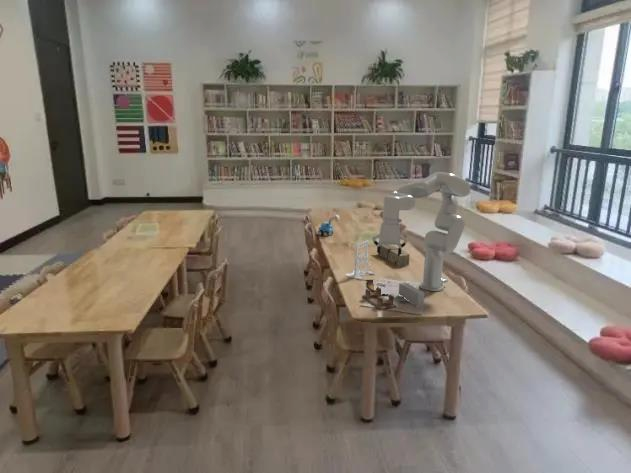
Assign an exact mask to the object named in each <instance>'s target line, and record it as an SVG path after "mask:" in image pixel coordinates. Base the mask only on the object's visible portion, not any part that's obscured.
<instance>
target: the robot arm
mask: <svg viewBox="0 0 631 473" xmlns="http://www.w3.org/2000/svg"><path fill="white" fill-rule="evenodd" d="M438 190H440V193H441V197H442V198H441V199H442V202H441V206H440V208H439V210H438V212H437V214H436V217H435V220H434V227H435V228H437V229H438V230H430V231H428V232H426V234H425V235H424V239H423V240H424V248H425V249H424V253H425V254H424V264H423V265H424V266H423V276H422V278H423V279H422V282H420V283H419V288H421V289H422V288H423V290H424V289H425V291H429V292H440V291H443V290H444V285H443V284H447V283H449V280H448V278H445V279H443V278H442V276H443V266H444V265H443V264H444V253H447V254H450V253H452V252H454V251H455V249H456V248H457V246H458V244H459V241H460V238H461V236H462V235H463V233H464V232H463V231H464V230H465V224H466V223H465V219H464V218H463V217H462V216H461V215H458V214H457V211H458V208H459V201H458V199H457V198H466V197H468V195H469V194H470V192H471V185H470V183H469V182H468V181H467V180H465V179H463V178H462V177H460V176H458V175H456V174H454V173H450V172H443V171H436V172H435V171H434V172H433V173H432V174H429V175H428V176H427V177H425V178H423V179H421V180H420V181H417V182H413V183H411V184H407V185H404V186H401V187H398V188H396V189H395V190H393V191H392V192H390V193H389V194H388V195H385V196H384V197H383V211H382V222H381V223H380V229H379V234H377V235H374V236H372V237H371V240H372V242H373V244H374V245H375V246H376V254H377V255H378V256H380V247H381V246H380V245H381V244H391V245H393V246H395V245H396V246H397V248H398V256H400V254H401V250H402V248H404V247H405V246H406V245H407V243H408V241H409V240H408V239H407V238H406V237H404V236H403V235H401V232H402V231H401V223H402V221H403V219H401V218H400V211H410V210H412V209H413V208H414V207H415V205H416V200H415V199H422V198H427V197H429V196H431V195H432V194H434V193H436V192H437V191H438ZM439 230H441V231H439ZM443 231H445V232H447V233H445V232H443ZM376 239H379V240H378V241H377V240H376ZM401 240H402V241H403V242H402V243H401ZM443 252H444V253H443Z"/></svg>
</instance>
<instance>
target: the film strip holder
mask: <svg viewBox="0 0 631 473" xmlns="http://www.w3.org/2000/svg"><path fill="white" fill-rule="evenodd" d="M362 248H366V250H365V252H364V253H361V254H359V251H360V249H362ZM368 253H369V240H368V239H367V240H365V241H363V242H360V243H358V244H355V248H354V257H355V258H354V262H353V263H354V264H353V266H354V269H353V270H352V271H351V272H348V273H345V274H344V275H345V276H344V277H348V278H353V279H355V280H359V281H361V280H362V281H365V280H366V278H365V276H364V275H365V274H369V275H372V276H376V273H374V271H373V267H372V265H371V262H370V259H369V255H368ZM362 264H365V266H364V269H362V268H361V267H360V266H361V265H362ZM368 265H369V267H370V270H371V271H370V270H368ZM358 268H359V269H358Z"/></svg>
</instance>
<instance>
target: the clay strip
mask: <svg viewBox="0 0 631 473" xmlns="http://www.w3.org/2000/svg"><path fill="white" fill-rule="evenodd" d="M399 294H400V295H402V296H403V297H405V298H406V299H407V300H409V301H410V302H411V303H410V302H409V301H408V302H409V303H410V304H412V303H413V304H412V305H414V306H415V307H417V308H419V307H423V306H424V301H425V298H424V297H425V292H423V291H421V290H420V289H418V288H417V287H415V286H413V285H410V284H409V283H407V282H406V281H404V282H399V283H398V295H399ZM407 300H406V301H407Z"/></svg>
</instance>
